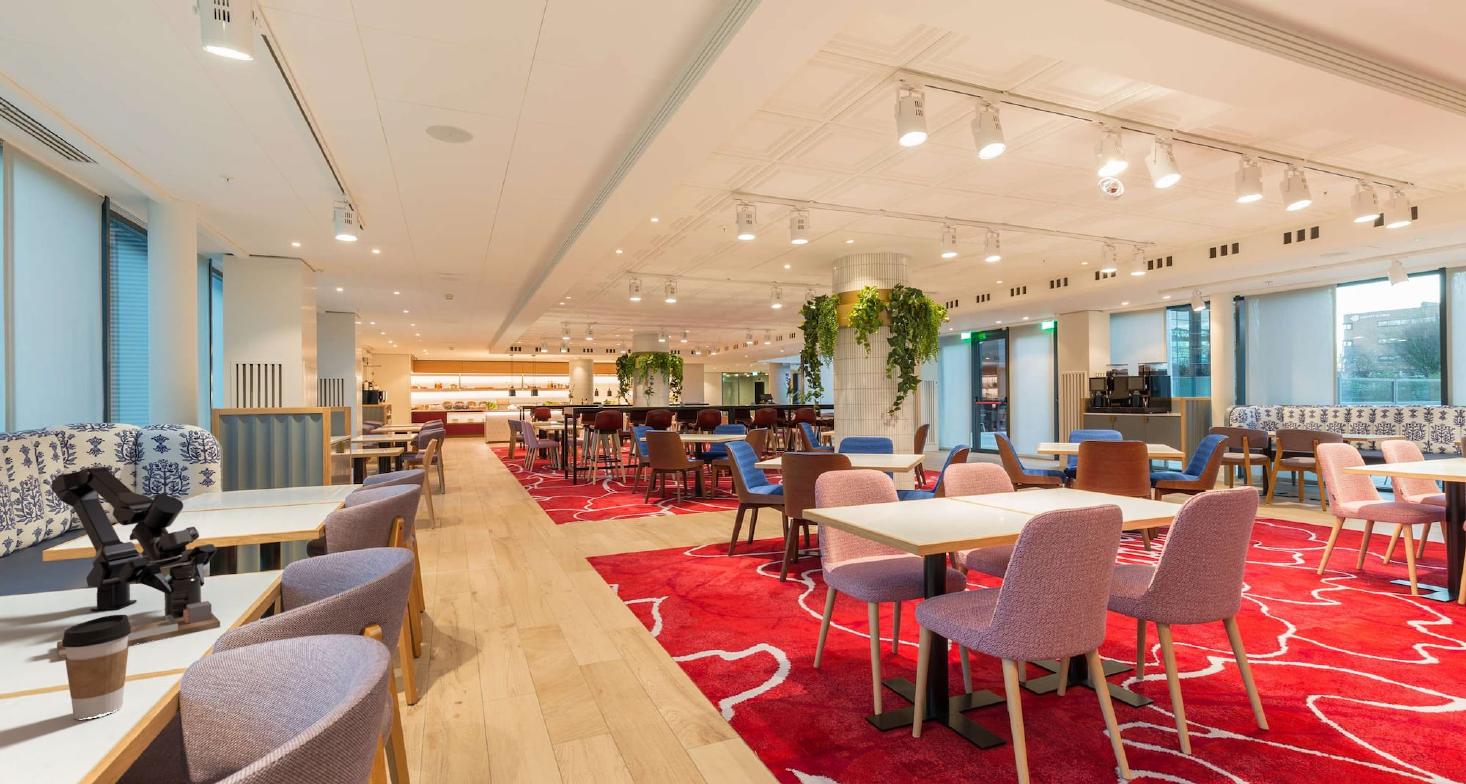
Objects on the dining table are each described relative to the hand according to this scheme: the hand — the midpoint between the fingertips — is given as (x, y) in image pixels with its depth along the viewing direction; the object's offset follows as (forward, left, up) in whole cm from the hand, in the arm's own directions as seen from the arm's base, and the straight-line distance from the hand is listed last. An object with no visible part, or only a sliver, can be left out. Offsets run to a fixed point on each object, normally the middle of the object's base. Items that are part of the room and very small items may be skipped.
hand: (186, 589), depth 162 cm
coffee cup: (+53, +18, -7) cm, 56 cm away
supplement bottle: (-1, -1, -7) cm, 7 cm away
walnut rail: (+14, -1, -7) cm, 15 cm away
